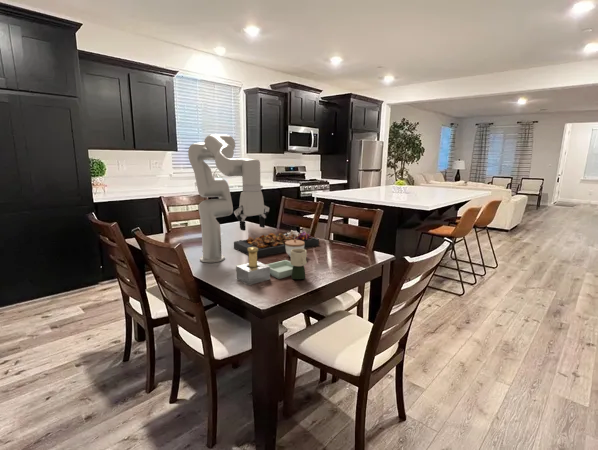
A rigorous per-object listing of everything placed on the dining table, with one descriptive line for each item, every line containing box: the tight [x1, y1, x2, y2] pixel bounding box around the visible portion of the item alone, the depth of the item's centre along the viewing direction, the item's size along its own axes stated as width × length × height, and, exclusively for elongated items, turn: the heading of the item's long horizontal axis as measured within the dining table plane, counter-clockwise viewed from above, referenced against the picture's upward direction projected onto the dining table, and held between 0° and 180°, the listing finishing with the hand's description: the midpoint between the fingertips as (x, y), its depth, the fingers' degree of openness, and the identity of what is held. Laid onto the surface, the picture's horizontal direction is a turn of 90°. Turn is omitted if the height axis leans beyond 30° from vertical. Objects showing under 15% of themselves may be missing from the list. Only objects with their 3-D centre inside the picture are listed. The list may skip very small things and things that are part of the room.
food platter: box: [233, 229, 320, 259], centre depth 206 cm, size 45×25×10 cm, turn 128°
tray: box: [265, 259, 293, 280], centre depth 162 cm, size 13×14×3 cm
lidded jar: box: [285, 239, 305, 258], centre depth 187 cm, size 11×11×9 cm
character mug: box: [290, 248, 308, 280], centre depth 153 cm, size 11×7×13 cm, turn 26°
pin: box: [247, 247, 258, 269], centre depth 152 cm, size 5×5×14 cm
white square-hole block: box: [235, 260, 271, 286], centre depth 152 cm, size 10×11×6 cm
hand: (252, 228), depth 148 cm, fingers open, 9 cm apart
